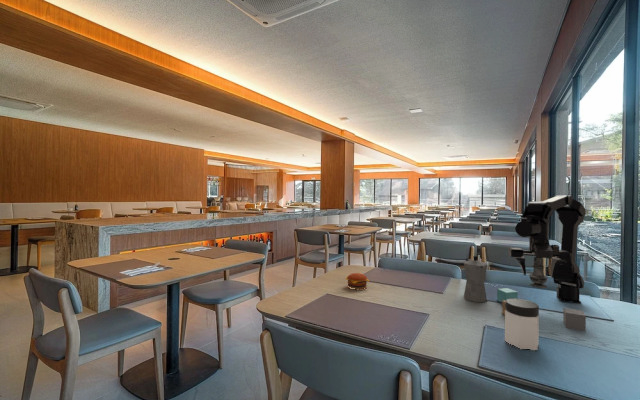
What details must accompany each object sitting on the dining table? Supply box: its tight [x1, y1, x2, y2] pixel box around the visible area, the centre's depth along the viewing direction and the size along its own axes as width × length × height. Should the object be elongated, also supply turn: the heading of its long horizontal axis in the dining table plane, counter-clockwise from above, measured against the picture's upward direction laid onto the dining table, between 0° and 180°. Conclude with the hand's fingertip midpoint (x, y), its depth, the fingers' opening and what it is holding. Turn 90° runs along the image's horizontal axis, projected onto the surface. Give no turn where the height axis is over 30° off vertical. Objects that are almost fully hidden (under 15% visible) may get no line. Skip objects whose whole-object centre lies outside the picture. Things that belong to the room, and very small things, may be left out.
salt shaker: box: [528, 256, 549, 289], centre depth 113 cm, size 6×6×12 cm
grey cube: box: [562, 307, 587, 332], centre depth 100 cm, size 5×5×5 cm
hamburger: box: [344, 272, 370, 290], centre depth 143 cm, size 9×10×7 cm
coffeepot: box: [463, 255, 488, 303], centre depth 128 cm, size 15×9×18 cm, turn 176°
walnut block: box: [501, 300, 506, 316], centre depth 108 cm, size 5×5×5 cm
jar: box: [504, 298, 540, 351], centre depth 88 cm, size 9×8×12 cm
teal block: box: [496, 287, 519, 304], centre depth 122 cm, size 5×5×5 cm
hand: (538, 276), depth 113 cm, fingers closed on salt shaker, 8 cm apart
